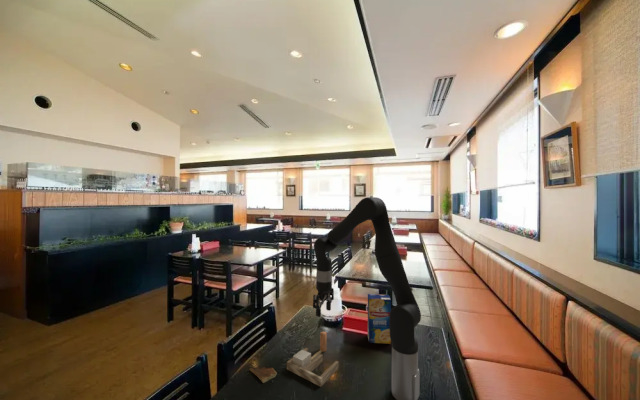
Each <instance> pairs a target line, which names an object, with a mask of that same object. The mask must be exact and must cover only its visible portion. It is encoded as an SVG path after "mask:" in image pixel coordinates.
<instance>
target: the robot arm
mask: <svg viewBox="0 0 640 400" xmlns="http://www.w3.org/2000/svg"><path fill="white" fill-rule="evenodd" d="M388 213H389V212H388V208H387V206H386V204H385V202H384V200H383V199H381V198H379V197H375V196H374V197H373V196H371V197H369V196H368V197H364V198H362V199H361V200H359V202H358V203H357V204H356V205H355V206H354V207H353V209H352V210H351V211H350V212H349V213H348V215H346V217H345V218H343V220H341V221H340V222H339V223H338V224H337V225H336V226H334V227H333V228H331V230H330V231H329V232H328V233H327V236H326V237H325V236H324V237H319V238H316V239H315V241H314V243H313V250H314V254H315V259H316V274H315V276H316V277H315V280H316V281H315V287H316V288H315V289H316V290H317V294H313V299H312V308H313V309H315V316H316V317H318V318H320V317H322V316H321V315H322V306H323V305H324V303H326V304H325V306H326V307H325V310H326V311H328V312H329V311H331V310H332V302H333V301H334V299H335V297H334V296H335V293H334V292H335V290H334V288H333V287H332V286H333V272H332V268H333V267H332V264H333V263H332V258H331V257H329V256H327V254H326V253H329V252H332V251H333V250H335V249H336V248H337V247H338V246H339V244H341V243H342V242H343V241H344V240H345V239H347V238H348V237H350V235H351V234H352V233H353V231H354V229H355V228H357V226H359V225H361V224H363V223H364V222H366V221H371V222H372V225H373V230H374V233H375V235H374V236H375V239H374V256H375V259H376V263H377V265H378V267H377V268H378V270H379V271H380V273H381V275H382V276H383V279H385V280H386V282H387V284H389V286H390V288H391V289H392V291H393V295H394V297H395V302H396V305H395V306H393V307H391V311H390V315H389V329H390V339H391V395H392V397H394V398H395V400H418V399H419V397H420V389H421V388H420V380H421V379H420V377H421V376H420V368H419V342H418V340H417V339H416V338H415V328H416V326H418V325H419V324H420V322H421V320H422V313H421V310H420V307H419V305H418V303H417V300H416V298H415V295H414V293H413V290H412V288H411V286H410V282H409V280H408V277H407V273H406V271H405V268H404V264H403V260H402V257H401V254H400V252H399V248H398V246H397V243H396V240H395V237H394V234H393V230H392V227H391V223H390V219H389V215H388ZM325 301H326V302H325Z"/></svg>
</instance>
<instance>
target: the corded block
mask: <svg viewBox="0 0 640 400" xmlns="http://www.w3.org/2000/svg"><path fill="white" fill-rule="evenodd" d="M327 333H328V332H326V331H321V332H320V334H319V336H320V337H319V338H320V339H319V342H320V343H319V346H320V347H319V350H318V351H317V352H315V354H313V355H312V353H311V352H309V351H308V352H307V351H305V350H303V349H301V350H299V351H298V352H297V353H295V354H294V355H292V358H293V363H294V364H296V365H298V366H300V367H302V368H304V367H305V366H307V365H308V364H309V363H310V362H311V361H313V360H314V359H315V358H316V357H317V356H318V355H320V354H322V353H323V352H327V347H328V345H327V339H328V337H327V335H328V334H327Z"/></svg>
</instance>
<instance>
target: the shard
mask: <svg viewBox="0 0 640 400" xmlns="http://www.w3.org/2000/svg"><path fill="white" fill-rule="evenodd" d="M249 372H251V373H253V374H254V375H255V376H256V377H257V378H258V379H259V380H260V382H262V383H263V384H264V383H267V382H268V381H270V380H272V379H274V378H276V376H277V371H276V370H275V369H274V367H249Z"/></svg>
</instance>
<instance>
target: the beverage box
mask: <svg viewBox="0 0 640 400" xmlns="http://www.w3.org/2000/svg"><path fill="white" fill-rule="evenodd" d="M391 309H392V299H391V297H390V295H389V294H380V293H379V294H378V293H377V294H376V293H375V294H374V293H367V338H368V343H369V342H370V343H369V344H371V343H373V344H389V345H392V341H391V339H390V329H389V315H390V311H391Z"/></svg>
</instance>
